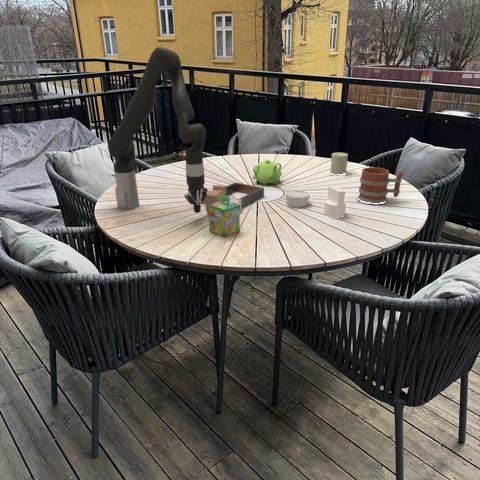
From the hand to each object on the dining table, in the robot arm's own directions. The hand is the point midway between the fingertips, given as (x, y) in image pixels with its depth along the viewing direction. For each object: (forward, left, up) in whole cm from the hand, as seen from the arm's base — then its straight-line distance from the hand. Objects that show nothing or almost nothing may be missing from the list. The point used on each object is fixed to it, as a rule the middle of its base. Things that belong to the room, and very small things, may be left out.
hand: (197, 212), depth 182 cm
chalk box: (-4, -18, -3) cm, 19 cm away
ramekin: (+40, -28, -4) cm, 49 cm away
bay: (+28, 0, -3) cm, 28 cm away
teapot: (+61, +1, -3) cm, 61 cm away
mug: (+65, -58, -3) cm, 87 cm away
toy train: (+14, 0, -3) cm, 14 cm away
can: (+98, -24, -3) cm, 101 cm away
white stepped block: (+37, -48, -3) cm, 60 cm away
